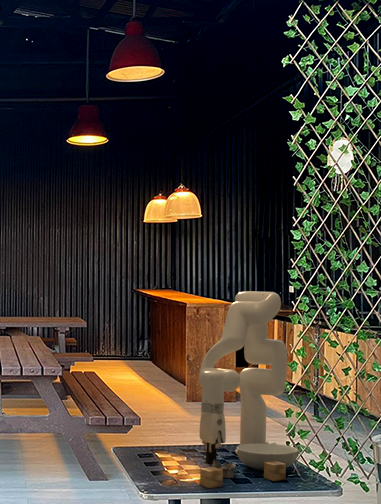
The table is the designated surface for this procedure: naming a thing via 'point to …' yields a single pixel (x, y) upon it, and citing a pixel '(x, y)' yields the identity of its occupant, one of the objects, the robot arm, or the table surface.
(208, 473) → the maple block
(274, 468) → the maple block
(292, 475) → the table surface
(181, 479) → the table surface
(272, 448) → the serving bowl
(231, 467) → the tan cratered rock
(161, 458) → the table surface
